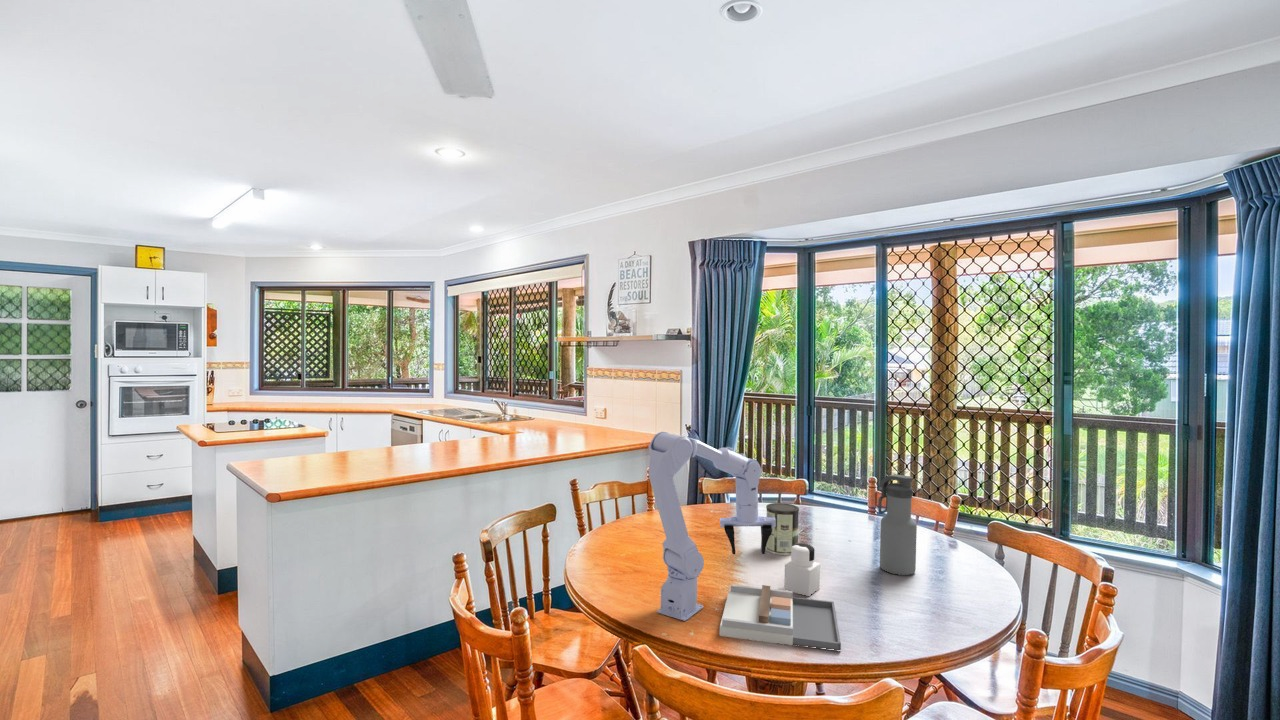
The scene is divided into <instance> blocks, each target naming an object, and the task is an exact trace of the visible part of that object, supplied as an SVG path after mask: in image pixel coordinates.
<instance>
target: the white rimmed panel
mask: <svg viewBox="0 0 1280 720" xmlns="http://www.w3.org/2000/svg"><path fill="white" fill-rule="evenodd" d="M761 593H762V587H761V586H760V587H758V586H750V585H741V584H732V583H731V584H730V588H729V589H728V594H727V597H726V600H725V604H724V610H723V612H722V617H721V620H720V625H719V636H720V637H727V638H733V639H740V640H747V639H750V640H749V641H755V640H758V641H757V642H762V641H763V642H764V643H771V644H777V643H780V644H779V645H784V644H789V645H788V646H792V645H793V597H794V596H793V594H794V592H793V591H787V590H785V589H776V588H770V605H769V617H768V623H760V622H759V610H760V601H761ZM772 596H773V597H781V598H790V599H791V626H790V625H782V624H774V623H770V616H771V603H772ZM763 642H762V643H763Z"/></svg>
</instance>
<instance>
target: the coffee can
mask: <svg viewBox="0 0 1280 720" xmlns="http://www.w3.org/2000/svg"><path fill="white" fill-rule="evenodd" d="M799 511H800V507H799V506H797V505H795V504H792V503H785V502H772V503H769V504H766V517H770V518H775V520H776V527H772V533H771V535H770V537H769V539H768V542H767V545H766V549H765V551H767V552H768V553H770V554H773V555H776V556H777V555H778V556H791V547H792V546H793V545H794V544H798V543H799V514H800V513H799Z"/></svg>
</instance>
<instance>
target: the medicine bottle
mask: <svg viewBox="0 0 1280 720" xmlns="http://www.w3.org/2000/svg"><path fill="white" fill-rule="evenodd" d="M815 551H816V550H815V547H813V546H812V545H810V544H808V543H800V542H798V544H794V545H793V546H792V547H791V555H790V559H791V560H789V561H788V562H786V563H784V582H783V583H784V589H783V590H786V591H787V590H788V591H793V593H794V592H795V593H794V594H798V595H801V594H802V596H804V595H806V596H805V597H808V596H809V597H810V596H812V595H813V594H814V593H816V592H817V591H818V590H820V588H821V587H820V586H821V584H820V583H821V581H820V580H821V563H819V562H816V561H815ZM815 591H816V592H815ZM811 594H812V595H811Z"/></svg>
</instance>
